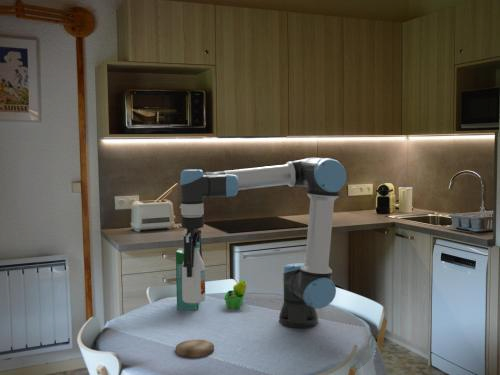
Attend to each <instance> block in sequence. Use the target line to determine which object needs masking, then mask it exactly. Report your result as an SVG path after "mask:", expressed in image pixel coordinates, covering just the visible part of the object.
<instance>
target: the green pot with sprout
mask: <svg viewBox="0 0 500 375" xmlns="http://www.w3.org/2000/svg"><path fill="white" fill-rule="evenodd" d="M246 288H247V283H246V280H244V279H240V280H239V282H237V283H236V284H234V285H233V286H232V289H233V290H228V291H227V292H226V294H225V295H224V297H223V299H224V301H225V304H226V308H227V309H231V310H233V309H234V310H235V309H236V310H239V309H240V308H241V306H242V304H243V301H244V298H245V295H246V290H247V289H246Z"/></svg>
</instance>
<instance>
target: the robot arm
mask: <svg viewBox="0 0 500 375" xmlns="http://www.w3.org/2000/svg"><path fill="white" fill-rule="evenodd" d="M346 181H347V171H346V168H345V167H344V166H343V164H342V163H341V162H339V161H338V160H336V159H334V158H330V157H307V158H304V159H303V158H302V159H298V160H292V161H287V162H286V163H285V164H278V165H270V166H268V165H267V166H260V167H251V168H239V169H233V170H232V169H231V170H223V171H206V172H204V171H203V169H197V168H196V169H193V168H192V169H191V168H190V169H182V171H181V172H180V180H179V185H180V205H179V209H180V214H181V218H180V220H181V221H180V223H181V224H180V226H181V228H182V229H185V230H186V233H185V235H184V236H183V249H184V265H183V267H186V286H192V287H194V286H195V276H194V267H193V263H194V251H195V247H196V244H197V242H199V243H200V249H199V252H200V256H201V258H202V260H203V261H204V259H203V252H202V251H203V250H202V230H201V229H202V228H203V227H204V226H205V222H204V221H205V219H204V218H205V217H204V216H203V215H204V213H205V211H204V210H205V208H204V206H205V205H204V204H205V203H204V199H205V198H218V197H219V198H221V197H222V198H225V197H226V198H228V197H235V196H237V195H238V192H239V191H240V190H241V191H242V190H250V189H257V188H258V189H259V188H266V187H267V188H269V187H275V186H285V185H286V186H287V185H288V187H291V188H293V187H305V188H306V195H307V197H308V198H309V202H310V203H309V211H308V224H307V235H306V236H307V237H306V247H305V250H306V251H305V257H304V260H305V261H304V262H295V263H288V264H285V265H284V267H283V273H282V275H283V278H282V280H283V302H282V306H281V309H280V313H279V318H278V321H279V323H280V324H281V325H283V326H284V327H288V328H295V329H297V328H299V329H300V328H301V329H303V328H310V327H314V326H316V325H317V324H318V323H319V316H318V313H317V309H325V308H326V307H328V306H329V305H330V304H331V303H332V302H333V301H334V299H335V298H336V293H337V289H336V284H335V283H334V281H333V280H332V277H333V270H332V269H331V267H330V266H329V262H330V253H331V252H330V251H331V241H332V240H331V239H332V230H333V229H332V228H333V216H334V206H335V201H336V200H337V199H338V198H339V196H340V190H341V189H342V188H343V187H344V186H345V184H346Z"/></svg>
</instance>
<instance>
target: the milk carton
mask: <svg viewBox="0 0 500 375" xmlns="http://www.w3.org/2000/svg"><path fill="white" fill-rule="evenodd" d="M183 261H184V247H183V248H182V247H178V248H177V250H176V251H175V270H176V271H175V276H176V277H175V279H176V280H175V281H176V310H177V311H178V310H179V311H185V310H187V311H188V310H189V311H190V310H191V311H193V310H194V311H196V310H197V311H198V310H199V309H200V306H201V302H200V303H186V302H184V301H183V298H182V265H183Z"/></svg>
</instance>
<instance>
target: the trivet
mask: <svg viewBox="0 0 500 375" xmlns="http://www.w3.org/2000/svg"><path fill="white" fill-rule="evenodd" d="M214 351H215V344H214V343H213V342H211V341H210V340H209V341H208V340H205V339H190V340H184V341H182V342H179V343H178V344H176V345H175V353H176V354H177V356H179V357H183V358H189V359H194V358H195V359H196V358H203V357H207V356H209V355H211V354H212V353H214Z"/></svg>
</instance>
